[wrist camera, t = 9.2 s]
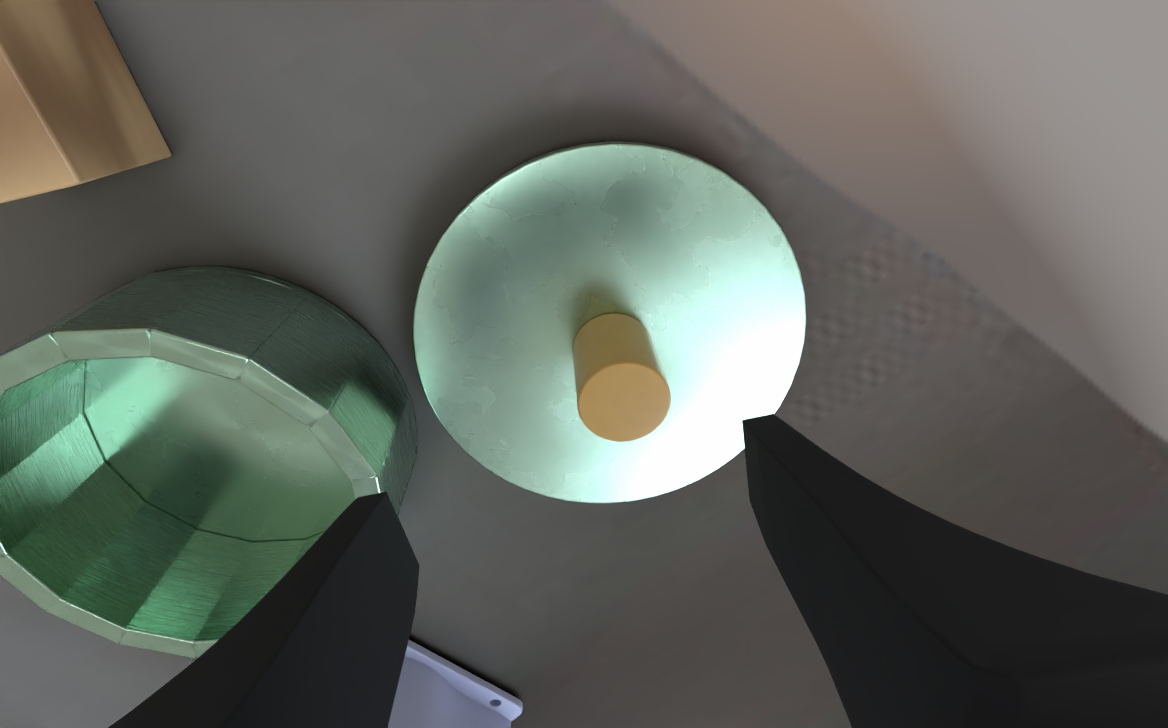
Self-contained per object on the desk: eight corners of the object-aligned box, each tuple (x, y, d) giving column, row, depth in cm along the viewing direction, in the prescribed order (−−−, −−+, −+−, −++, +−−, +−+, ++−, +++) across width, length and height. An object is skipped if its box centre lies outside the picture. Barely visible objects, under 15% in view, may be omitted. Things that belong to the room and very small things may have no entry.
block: (-52, 34, 16) (-220, 31, 13) (93, -3, 16) (-36, -17, 12) (42, 187, 18) (-82, 223, 14) (174, 156, 18) (81, 184, 14)
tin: (483, 413, 22) (469, 503, 18) (301, 592, 26) (251, 704, 21) (174, 186, 18) (58, 231, 14) (6, 434, 21) (-130, 534, 17)
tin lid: (868, 325, 21) (942, 389, 18) (608, 536, 25) (621, 629, 21) (609, 36, 17) (629, 33, 13) (340, 346, 21) (291, 418, 17)
